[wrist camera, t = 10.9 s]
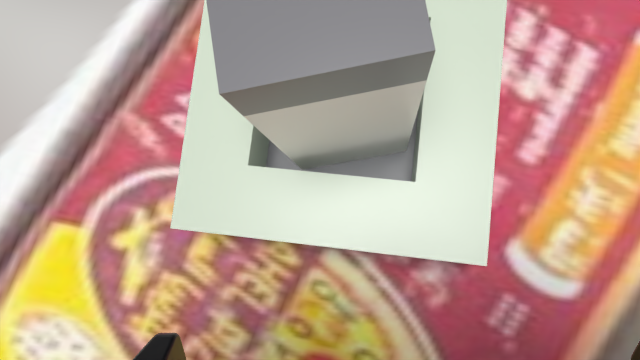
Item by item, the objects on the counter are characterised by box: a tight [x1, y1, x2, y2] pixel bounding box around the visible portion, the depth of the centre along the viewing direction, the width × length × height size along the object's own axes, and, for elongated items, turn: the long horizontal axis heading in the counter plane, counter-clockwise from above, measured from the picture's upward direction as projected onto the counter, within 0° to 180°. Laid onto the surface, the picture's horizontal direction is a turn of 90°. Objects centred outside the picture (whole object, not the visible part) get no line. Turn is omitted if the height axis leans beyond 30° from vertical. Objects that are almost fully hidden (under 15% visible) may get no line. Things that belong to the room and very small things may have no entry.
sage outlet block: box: [171, 0, 507, 266], centre depth 22 cm, size 13×13×4 cm
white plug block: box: [206, 0, 436, 170], centre depth 17 cm, size 5×5×12 cm
